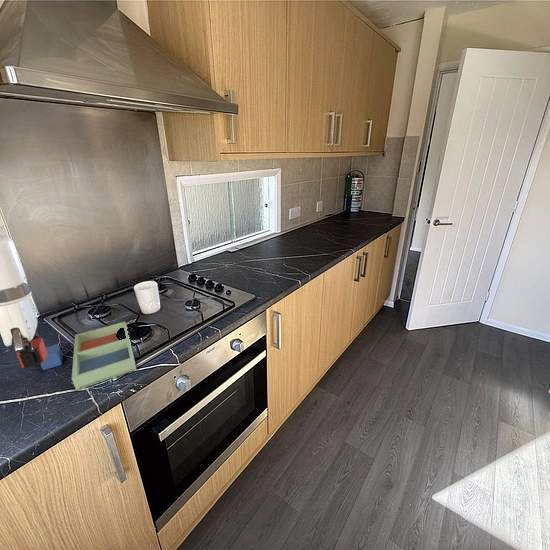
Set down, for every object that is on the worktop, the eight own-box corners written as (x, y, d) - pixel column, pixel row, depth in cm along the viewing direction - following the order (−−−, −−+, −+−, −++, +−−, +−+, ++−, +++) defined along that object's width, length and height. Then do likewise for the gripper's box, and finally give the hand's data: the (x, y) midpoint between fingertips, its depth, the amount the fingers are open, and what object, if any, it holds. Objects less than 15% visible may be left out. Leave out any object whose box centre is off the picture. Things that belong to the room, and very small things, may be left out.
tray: (76, 390, 73) (71, 378, 71) (78, 345, 91) (75, 334, 89) (136, 369, 79) (133, 358, 78) (127, 331, 97) (125, 321, 95)
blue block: (42, 370, 80) (37, 357, 79) (44, 361, 84) (39, 348, 82) (62, 364, 82) (57, 351, 81) (63, 356, 86) (58, 343, 84)
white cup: (161, 302, 114) (156, 279, 111) (162, 312, 108) (157, 287, 104) (140, 306, 112) (134, 283, 108) (139, 316, 105) (133, 291, 101)
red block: (22, 368, 69) (15, 352, 67) (25, 357, 72) (19, 342, 71) (45, 361, 71) (39, 346, 69) (47, 352, 74) (41, 337, 73)
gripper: (-5, 282, 69) (21, 346, 76) (-27, 312, 56) (7, 386, 63) (35, 275, 73) (56, 337, 80) (22, 303, 59) (50, 374, 66)
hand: (34, 358), depth 71 cm, fingers closed on red block, 4 cm apart
